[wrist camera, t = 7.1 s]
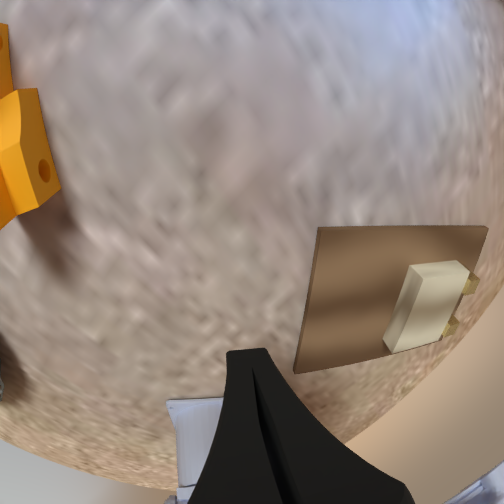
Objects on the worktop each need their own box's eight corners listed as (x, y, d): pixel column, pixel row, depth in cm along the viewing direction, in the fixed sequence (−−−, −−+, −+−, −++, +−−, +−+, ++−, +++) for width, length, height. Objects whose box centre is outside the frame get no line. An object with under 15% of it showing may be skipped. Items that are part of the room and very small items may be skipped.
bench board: (438, 336, 29) (441, 340, 28) (292, 369, 26) (294, 374, 25) (484, 225, 22) (488, 228, 21) (317, 227, 19) (321, 231, 18)
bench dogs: (440, 318, 26) (453, 334, 24) (431, 321, 26) (444, 337, 23) (463, 264, 23) (480, 279, 21) (454, 266, 22) (471, 281, 20)
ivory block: (428, 327, 26) (438, 340, 24) (382, 338, 25) (392, 353, 23) (456, 260, 22) (470, 271, 20) (409, 265, 21) (423, 279, 19)
